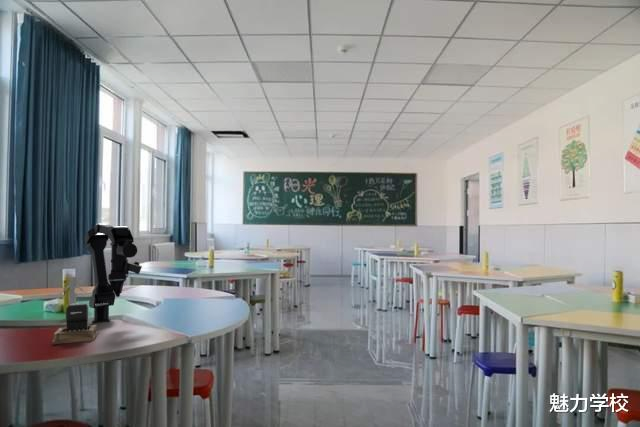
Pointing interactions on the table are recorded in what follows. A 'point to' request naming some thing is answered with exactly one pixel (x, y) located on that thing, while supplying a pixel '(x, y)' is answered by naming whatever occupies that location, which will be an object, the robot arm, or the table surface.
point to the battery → (77, 317)
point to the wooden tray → (74, 335)
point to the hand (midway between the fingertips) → (119, 295)
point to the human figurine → (72, 290)
